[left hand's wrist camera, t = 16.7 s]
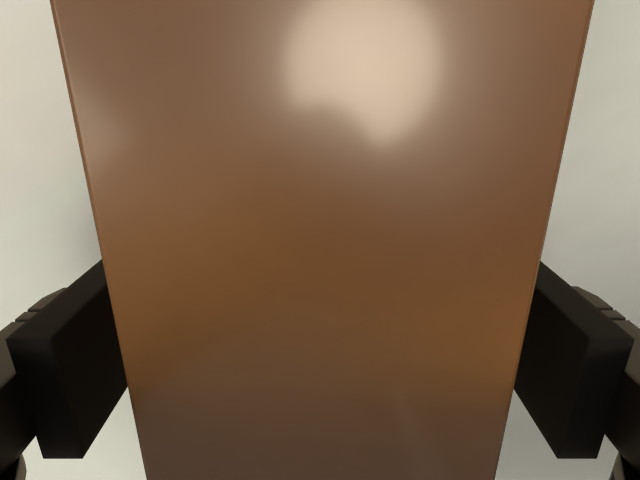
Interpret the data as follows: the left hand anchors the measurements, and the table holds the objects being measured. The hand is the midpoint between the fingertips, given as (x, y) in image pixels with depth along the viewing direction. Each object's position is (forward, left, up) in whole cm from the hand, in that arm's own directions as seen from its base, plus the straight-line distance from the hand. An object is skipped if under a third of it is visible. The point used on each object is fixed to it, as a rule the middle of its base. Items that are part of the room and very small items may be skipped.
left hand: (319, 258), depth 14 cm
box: (+10, +3, -3) cm, 11 cm away
